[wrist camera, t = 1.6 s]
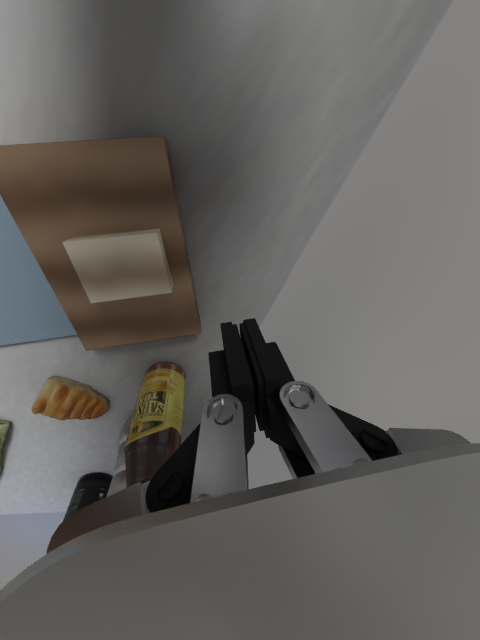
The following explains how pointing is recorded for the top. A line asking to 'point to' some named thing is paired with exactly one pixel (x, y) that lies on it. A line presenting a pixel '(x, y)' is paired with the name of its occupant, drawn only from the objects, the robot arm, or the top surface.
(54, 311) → the rubber mat
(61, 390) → the pastry
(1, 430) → the washcloth
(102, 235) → the birch tile
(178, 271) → the walnut stand
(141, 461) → the sauce bottle
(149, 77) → the top surface
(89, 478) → the supplement bottle
